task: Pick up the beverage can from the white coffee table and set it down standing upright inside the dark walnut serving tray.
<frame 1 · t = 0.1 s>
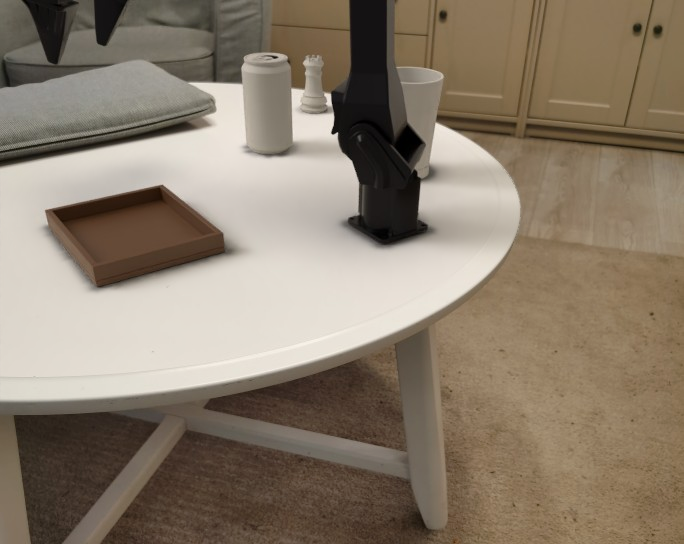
hand: (78, 53, 76), 15 cm above the table, tool pointing down, fingers open, 9 cm apart
cup: (403, 173, 91), on the table
beverage can: (269, 149, 98), on the table
tray: (134, 239, 74), on the table
rook chess piece: (313, 110, 113), on the table
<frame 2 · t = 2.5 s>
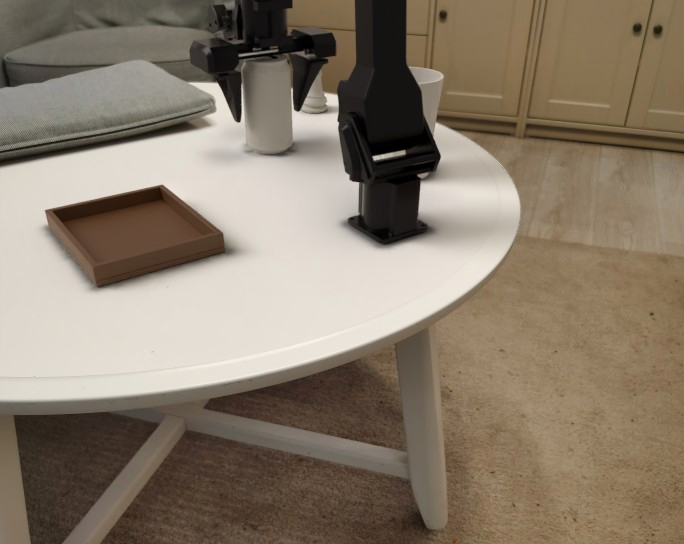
hand: (268, 116, 95), 4 cm above the table, tool pointing down
beverage can: (269, 149, 98), on the table, touching gripper
everything else where it was.
when the fingers open (5 cm above the table, at t = 9.0 s): beverage can stays where it is, resting on tray.
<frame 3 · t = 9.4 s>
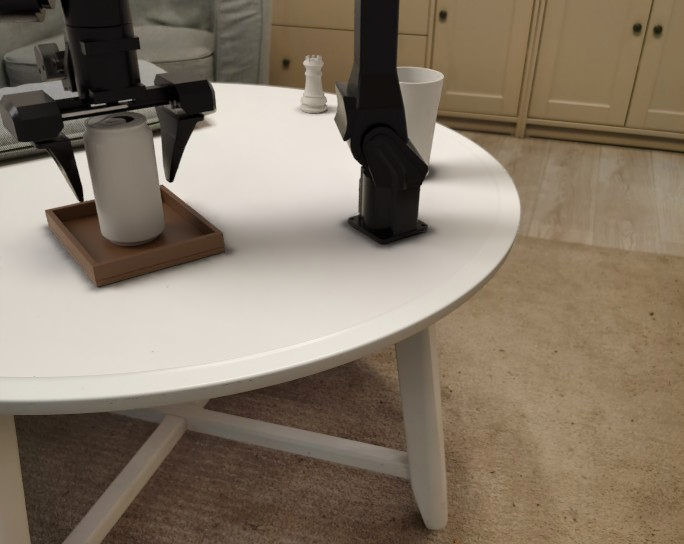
hand: (126, 190, 71), 5 cm above the table, tool pointing down, fingers open, 9 cm apart
beverage can: (134, 236, 73), resting on tray
everything else where it was.
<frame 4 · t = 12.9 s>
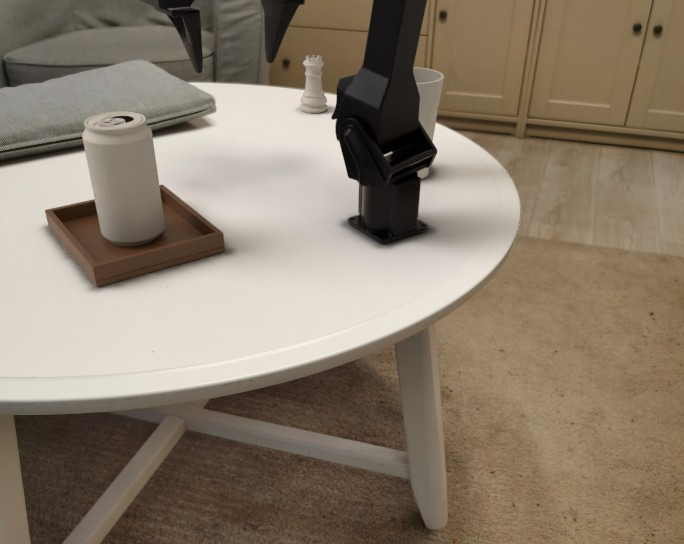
hand: (235, 67, 82), 13 cm above the table, tool pointing down, fingers open, 9 cm apart
nothing on the table moved.
at the end: beverage can inside the target area in the tray (0.3 cm from its centre), point 0.4 cm above the tray's base; beverage can tilted 0°; the gripper is holding nothing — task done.
